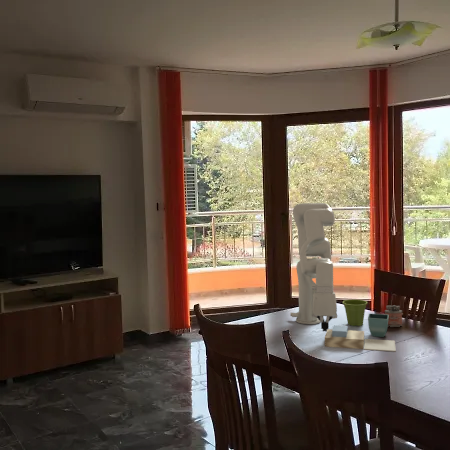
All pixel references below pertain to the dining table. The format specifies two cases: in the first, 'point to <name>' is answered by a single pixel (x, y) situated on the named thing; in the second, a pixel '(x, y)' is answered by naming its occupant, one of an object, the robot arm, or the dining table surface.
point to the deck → (345, 340)
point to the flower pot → (378, 324)
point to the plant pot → (355, 311)
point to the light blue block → (339, 331)
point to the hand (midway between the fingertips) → (324, 330)
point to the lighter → (394, 316)
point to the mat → (379, 345)
